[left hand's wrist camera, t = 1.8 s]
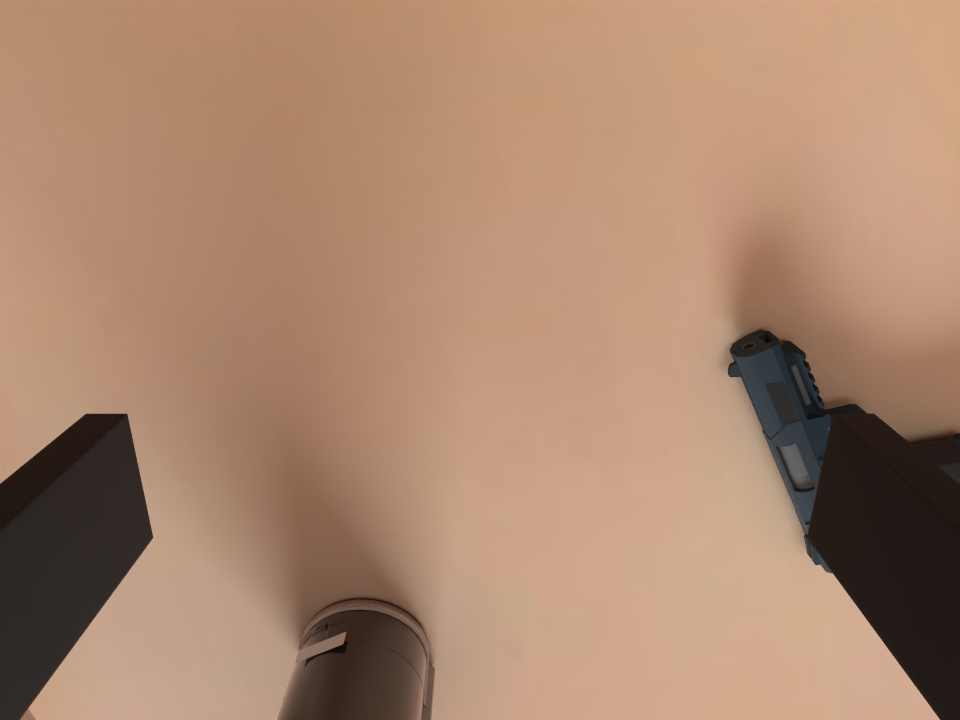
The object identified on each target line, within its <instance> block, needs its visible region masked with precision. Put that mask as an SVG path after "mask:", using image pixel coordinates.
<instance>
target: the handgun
mask: <svg viewBox="0 0 960 720" xmlns="http://www.w3.org/2000/svg"><path fill="white" fill-rule="evenodd" d="M730 352H731V354H732V357H733V359H734V362H733V363H731V364H730V365H729V368H728V375H729V376H730V377H741V378H742V381H743V383H744V385H745V388H746V390H747V393H748V395H749V397H750V400H751V402H752V405H753V407H754V409H755V412H756V414H757V416H758V419H759V421H760V424H761V426H762V428H763V433H764V436H765V438H766V441H767V443H768V445H769V448H770V450H771V452H772V455H773V457H774V460H775V462H776V464H777V467H778V469H779V471H780V474H781V476H782V479H783V481H784V483H785V486H786V488H787V491H788V493H789V495H790V498H791V500H792V502H793V505H794V507H795V510H796V513H797V516H798V518H799V520H800V523H801V525H802V528H803V530H804V532H805V535H804V538H805V543H806V549H807V554H808V555H809V557H810V558H812V561H813V562H814V564H815V565H820V564H821V566H822V567H823V568H824V570H825V571H826V572H829V573H832V571H831V570H830V569H829V567H828V566H827V565H826V563H825V562H824V560H823V559H822V558H821V556H820V555H819V554H818V552H817V551H816V550H815V548H814V547H813V545H812V544H811V543H810V541H809V540H808V539H807V535H808V530H809V525H810V520H811V515H812V511H813V506H814V501H815V496H816V492H817V487H818V482H819V477H820V472H821V468H822V463H823V458H824V453H825V449H826V444H827V439H828V434H829V429H830V425H831V420H832V415H833V414H867V413H866V412H865V411H864V410H862V409H861V408H860V407H859V406H858V405H856V404H849V405H845V406H840V407H836V408H832V409H828V410H824V409H823V406H824V403H823V400H822V398H821V397H819V396H818V395H819V393H820V392H819V389H818V387H817V386H815V385H814V383H815V379H814V376H813V375H812V374H811V373H809V372H810V370H811V368H810V366H809V364H808V363H807V362H806V361H805V358H806V355H805V353H804V352H803V351H802V350H801V349H799V348H798V347H797V346H795V345H794V344H793V343H792V342H790V341H784V343H783V345H780V342H779V340H778V338H777V337H776V336H774V335H773V334H772V333H771V332H769V331H764V330H759V331H757V332H755V333H753V334H751V335H748V336H746V337H744V338H742V339H740V340H738V341H736V342H735V343H734V344H733V345H732V347H731V349H730ZM911 445H913V446H914V447H915V448H916V449H918V450H919V451H920V452H921V453H922V454H924V455H925V456H926V457H927V458H929V459H930V460H931V461H932V462H933V463H935V464H936V465H937V466H938V467H940V468H941V469H942V470H943V471H944V472H946V473H947V474H948V475H949V476H951V477H952V478H953V479H954V480H955V481H957V482H958V483H959V484H960V433H956V434H954V435H953V437H952V438H948V439H941V440H934V441H928V442H922V443H916V444H911Z"/></svg>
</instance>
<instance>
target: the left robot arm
mask: <svg viewBox="0 0 960 720" xmlns="http://www.w3.org/2000/svg"><path fill="white" fill-rule="evenodd" d="M152 539H153V535H152V530H151V525H150V520H149V515H148V511H147V506H146V501H145V496H144V492H143V487H142V482H141V477H140V472H139V468H138V463H137V458H136V453H135V449H134V444H133V439H132V434H131V429H130V425H129V420H128V415H127V414H85V415H84V416H83V417H82V418H80V419H79V420H78V421H77V422H75V423H74V424H73V425H72V426H71V427H69V428H68V429H67V430H66V431H64V432H63V433H62V434H61V435H60V436H58V437H57V438H56V439H55V440H53V441H52V442H51V443H50V444H49V445H47V446H46V447H45V448H44V449H42V450H41V451H40V452H39V453H38V454H36V455H35V456H34V457H33V458H31V459H30V460H29V461H28V462H27V463H25V464H24V465H23V466H22V467H20V468H19V469H18V470H17V471H16V472H14V473H13V474H12V475H11V476H9V477H8V478H7V479H6V480H5V481H3V482H2V483H1V484H0V720H20V719H21V717H22V716H23V714H24V713H25V712H26V710H27V709H28V708H29V706H30V705H31V704H32V702H33V701H34V700H35V698H36V697H37V695H38V694H39V693H40V691H41V690H42V689H43V687H44V686H45V685H46V683H47V682H48V680H49V679H50V678H51V676H52V675H53V674H54V672H55V671H56V670H57V668H58V667H59V665H60V664H61V663H62V661H63V660H64V659H65V657H66V656H67V655H68V653H69V652H70V650H71V649H72V648H73V646H74V645H75V644H76V642H77V641H78V640H79V638H80V637H81V635H82V634H83V633H84V631H85V630H86V629H87V627H88V626H89V625H90V623H91V622H92V620H93V619H94V618H95V616H96V615H97V614H98V612H99V611H100V610H101V608H102V607H103V605H104V604H105V603H106V601H107V600H108V599H109V597H110V596H111V595H112V593H113V592H114V590H115V589H116V588H117V586H118V585H119V584H120V582H121V581H122V580H123V578H124V577H125V575H126V574H127V573H128V571H129V570H130V569H131V567H132V566H133V565H134V563H135V562H136V560H137V559H138V558H139V556H140V555H141V554H142V552H143V551H144V550H145V548H146V547H147V545H148V544H149V543H150V541H151V540H152ZM807 539H808V540H809V541H810V543H811V544H812V545H813V547H814V548H815V550H816V551H817V552H818V554H819V555H820V556H821V558H822V559H823V560H824V562H825V563H826V565H827V566H828V567H829V569H830V570H831V571H832V573H833V574H834V575H835V577H836V578H837V580H838V581H839V582H840V584H841V585H842V586H843V588H844V589H845V590H846V592H847V593H848V595H849V596H850V597H851V599H852V600H853V601H854V603H855V604H856V605H857V607H858V608H859V610H860V611H861V612H862V614H863V615H864V616H865V618H866V619H867V620H868V622H869V623H870V625H871V626H872V627H873V629H874V630H875V631H876V633H877V634H878V635H879V637H880V638H881V640H882V641H883V642H884V644H885V645H886V646H887V648H888V649H889V650H890V652H891V653H892V655H893V656H894V657H895V659H896V660H897V661H898V663H899V664H900V665H901V667H902V668H903V670H904V671H905V672H906V674H907V675H908V676H909V678H910V679H911V680H912V682H913V683H914V685H915V686H916V687H917V689H918V690H919V691H920V693H921V694H922V695H923V697H924V698H925V700H926V701H927V702H928V704H929V705H930V706H931V708H932V709H933V710H934V712H935V713H936V715H937V716H938V717H939V719H940V720H960V484H959V483H958V482H957V481H955V480H954V479H953V478H952V477H951V476H949V475H948V474H947V473H946V472H944V471H943V470H942V469H941V468H940V467H938V466H937V465H936V464H935V463H933V462H932V461H931V460H930V459H929V458H927V457H926V456H925V455H924V454H922V453H921V452H920V451H919V450H918V449H916V448H915V447H914V446H913V445H911V444H910V443H909V442H908V441H907V440H905V439H904V438H903V437H902V436H900V435H899V434H898V433H897V432H896V431H894V430H893V429H892V428H891V427H889V426H888V425H887V424H886V423H885V422H883V421H882V420H881V419H880V418H878V417H877V416H876V415H875V414H833V415H832V420H831V425H830V429H829V434H828V439H827V444H826V449H825V453H824V458H823V463H822V468H821V472H820V477H819V482H818V487H817V492H816V496H815V501H814V506H813V511H812V515H811V520H810V525H809V530H808V535H807Z"/></svg>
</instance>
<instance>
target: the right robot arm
mask: <svg viewBox="0 0 960 720" xmlns="http://www.w3.org/2000/svg"><path fill="white" fill-rule="evenodd" d="M434 674H435V669H434V668H433V667H432V666H431V665H430V663H429V644H428V640H427V637H426V635H425V633H424V631H423V629H422V628H421V626H420V625H419V624H418V623H417V622H416V621H415V620H414V619H413V618H412V617H411V616H410V615H408V614H407V613H406V612H404V611H403V610H401V609H399V608H397V607H395V606H392V605H390V604H387V603H384V602H380V601H374V600H361V599H360V600H349V601H344V602H340V603H337V604H334V605H332V606H329V607H327V608H326V609H324V610H322V611H321V612H319V613H318V614H317V615H316V616H315V617H314V618H313V619H312V620H311V621H310V622H309V624H308V625H307V627H306V629H305V631H304V634H303V637H302V640H301V643H300V647H299V653H298V656H297V659H296V662H295V666H294V669H293V672H292V675H291V678H290V681H289V684H288V687H287V690H286V693H285V697H284V700H283V703H282V706H281V709H280V712H279V715H278V718H277V720H431V713H432V700H433V687H434Z"/></svg>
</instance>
